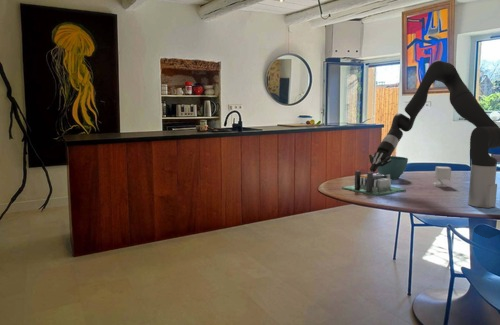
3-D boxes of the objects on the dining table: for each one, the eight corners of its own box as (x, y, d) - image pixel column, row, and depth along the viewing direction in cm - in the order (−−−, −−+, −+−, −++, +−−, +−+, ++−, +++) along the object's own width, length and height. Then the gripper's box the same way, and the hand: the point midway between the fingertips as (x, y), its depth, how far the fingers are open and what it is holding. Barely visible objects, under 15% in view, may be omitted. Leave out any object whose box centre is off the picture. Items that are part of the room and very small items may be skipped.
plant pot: (408, 177, 236) (409, 156, 234) (405, 182, 220) (406, 160, 218) (377, 174, 244) (378, 155, 243) (371, 179, 228) (372, 158, 227)
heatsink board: (405, 190, 196) (406, 171, 195) (377, 196, 184) (378, 175, 182) (369, 184, 214) (370, 166, 213) (342, 188, 202) (342, 169, 200)
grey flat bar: (387, 175, 200) (367, 176, 191) (387, 177, 200) (367, 178, 191) (379, 174, 204) (360, 174, 195) (379, 176, 204) (359, 177, 195)
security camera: (450, 187, 205) (451, 168, 204) (435, 186, 206) (436, 168, 205) (446, 185, 211) (447, 166, 210) (432, 184, 213) (433, 166, 211)
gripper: (374, 139, 205) (357, 164, 200) (396, 141, 194) (379, 168, 189) (380, 149, 209) (364, 174, 203) (402, 151, 198) (386, 177, 193)
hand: (371, 171), depth 196 cm, fingers closed
